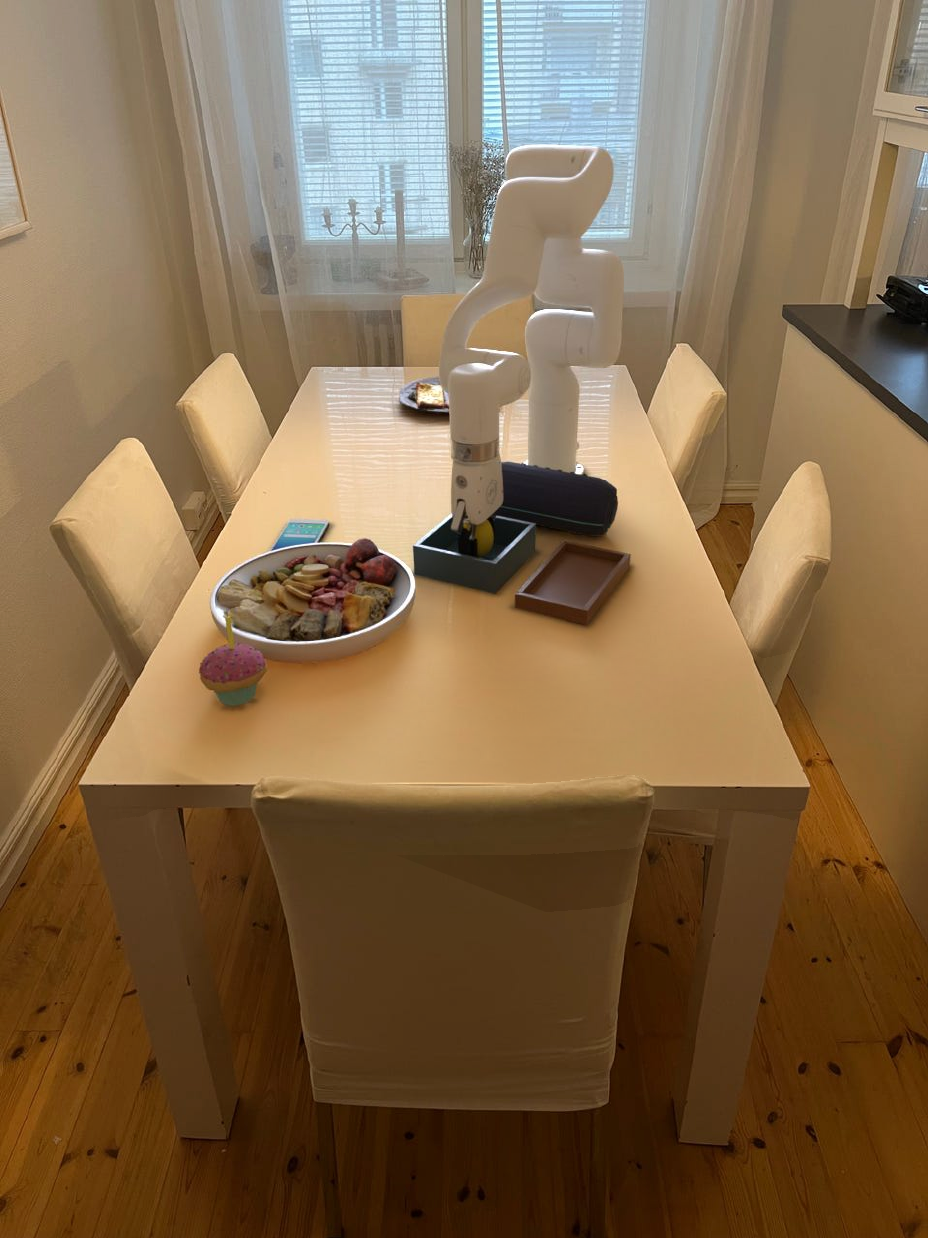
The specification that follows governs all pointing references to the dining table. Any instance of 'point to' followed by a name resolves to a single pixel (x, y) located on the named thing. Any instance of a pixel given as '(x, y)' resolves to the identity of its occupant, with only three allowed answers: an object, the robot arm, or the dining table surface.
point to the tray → (573, 582)
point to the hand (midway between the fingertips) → (476, 549)
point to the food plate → (425, 395)
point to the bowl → (315, 600)
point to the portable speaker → (557, 499)
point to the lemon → (483, 537)
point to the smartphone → (301, 533)
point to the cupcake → (233, 670)
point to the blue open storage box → (485, 573)
